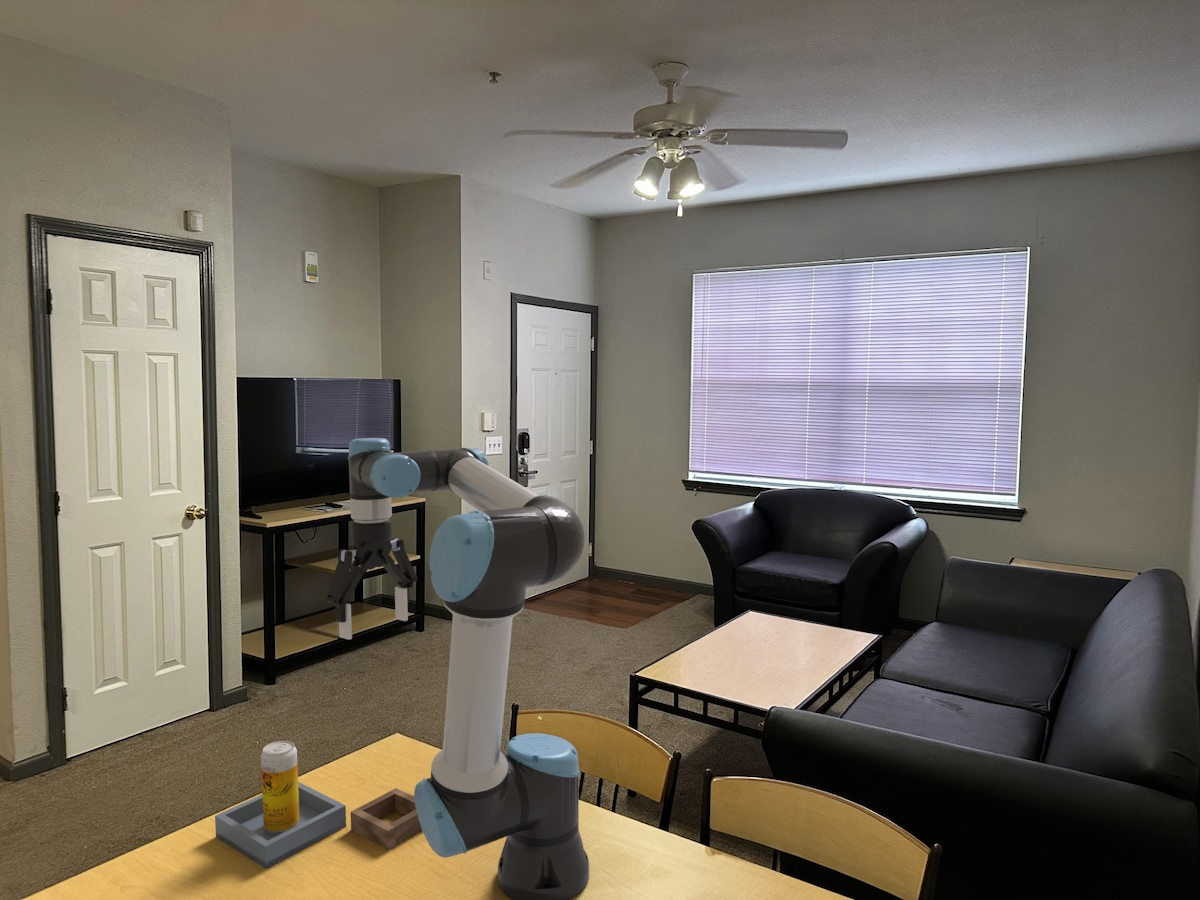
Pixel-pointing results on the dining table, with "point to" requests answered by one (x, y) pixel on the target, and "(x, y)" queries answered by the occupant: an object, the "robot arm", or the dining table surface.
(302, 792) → the tray
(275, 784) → the beer can
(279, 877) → the dining table surface
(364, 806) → the collar holder
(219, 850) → the dining table surface
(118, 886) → the dining table surface
